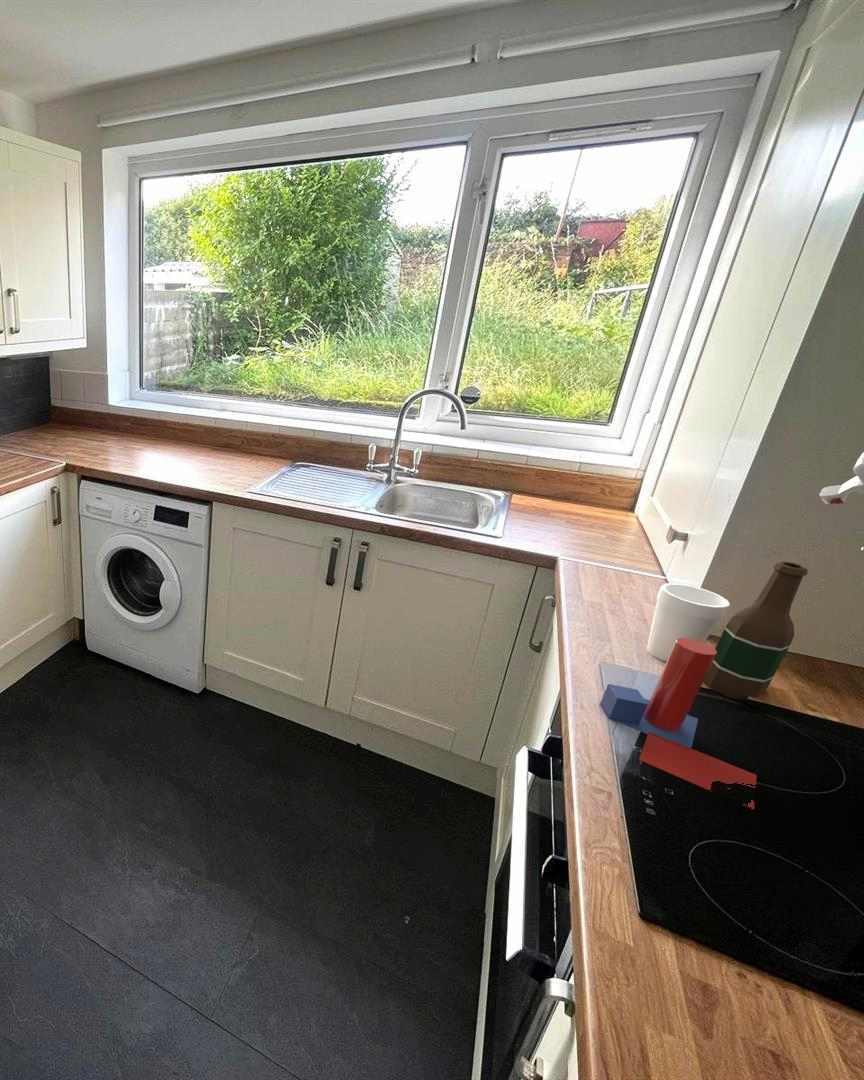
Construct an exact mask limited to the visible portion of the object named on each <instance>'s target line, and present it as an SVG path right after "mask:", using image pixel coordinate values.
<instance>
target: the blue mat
mask: <svg viewBox="0 0 864 1080" xmlns="http://www.w3.org/2000/svg"><path fill="white" fill-rule="evenodd" d="M644 699H645V701H646V702H647V704H648V702H649V700H650V699H647V698H644ZM610 720H612V721H614V722H617V723H619V724H621V725H624V726H626V727H628V728H631V729H634V730H636V731H637V732H638V731H639V732H641V733H643V734H645V735H648V734H649V732H652V733H654V734H657V735H659V736H661V737H664V738H665V740H667V739H669V740H671V742H672V741H674V742H676V743H679V744H681V745H684V746H685V747H689V749H690V748H691V749H693V748H692V747H693V744H694V739H695V735H696V731H697V726H698V723H699V718H697V717H695V716H691V715H689V714H687V716H686V718H685V720H684V722H683V725H682V727H681V729H680V730H679V731H667V730H664V729H661V728H658V727H656V726H654V725H652V724H651V723H649V722H648V721H647V720H646V719H645V718H644V717H643V716H642V719H641V721H640V723H639V725H637V724H632V723H627V722H623V721H618V720H613V719H610ZM654 734H653V735H654ZM650 735H651V733H650ZM654 736H655V735H654ZM657 737H658V736H657ZM667 741H668V740H667ZM679 744H677V745H679ZM674 745H676V744H674ZM681 745H680V746H681ZM689 749H688V750H689Z"/></svg>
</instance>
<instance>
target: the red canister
mask: <svg viewBox="0 0 864 1080" xmlns="http://www.w3.org/2000/svg"><path fill="white" fill-rule="evenodd" d="M716 654H717V651H716V650H715V648H714V647H713V646H711V645H710V644H708V643H705V642H704V643H703V642H700V641H697V640H694V639H689V638H678V639H677V640H676V642H675V644H674V646H673V648H672V651H671V653H670V655H669V657H668V660H667V662H666V661H665V664H664V666H663V669H662V671H661V673H660V675H659V678H658V680H657V682H656V684H655V687H654V689H653V692H652V693H651V696H650V698H649V699H648V700H649V702H648V705H647V707H646V710H645V712H644V714H643V717H644V718H645V719H646V720H647V721H648V722H649V723H651V724H652V725H654V726H656V727H658V728H661V729H664V730H667V731H679V730H680V729H681V727H682V725H683V722H684V720H685V718H686V716H687V715H689V712H690V710H691V708H692V706H693V704H694V701H695V699H696V697H697V696H698V693H699V692H700V689H701V687H702V685H703V683H704V679H705V677H706V675H707V673H708V670H709V668H710V666H711V664H712V662H713V660H714V658H715V656H716Z"/></svg>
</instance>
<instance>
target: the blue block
mask: <svg viewBox="0 0 864 1080" xmlns="http://www.w3.org/2000/svg"><path fill="white" fill-rule="evenodd" d="M645 699H646V698H645V697H643V696H642V694H641V692H640V690H638V689H636V688H631V687H626V686H621V685H617V684H611V683H608V684H607V685H606V688H605V690H604V693H603V694H602V698H601V700H600V703H599V705H600V706H601V708H602V710H603V712H604V713H605V714H606V716H607V719H609V720H611V719H613V720H612V721H614V720H618V721H623V722H627V723H632V724H637V725H639V723H640V721H641V719H642V716H643V714H644V712H645V710H646V707H647V705H648V704H647V702H646V701H645Z"/></svg>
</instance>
